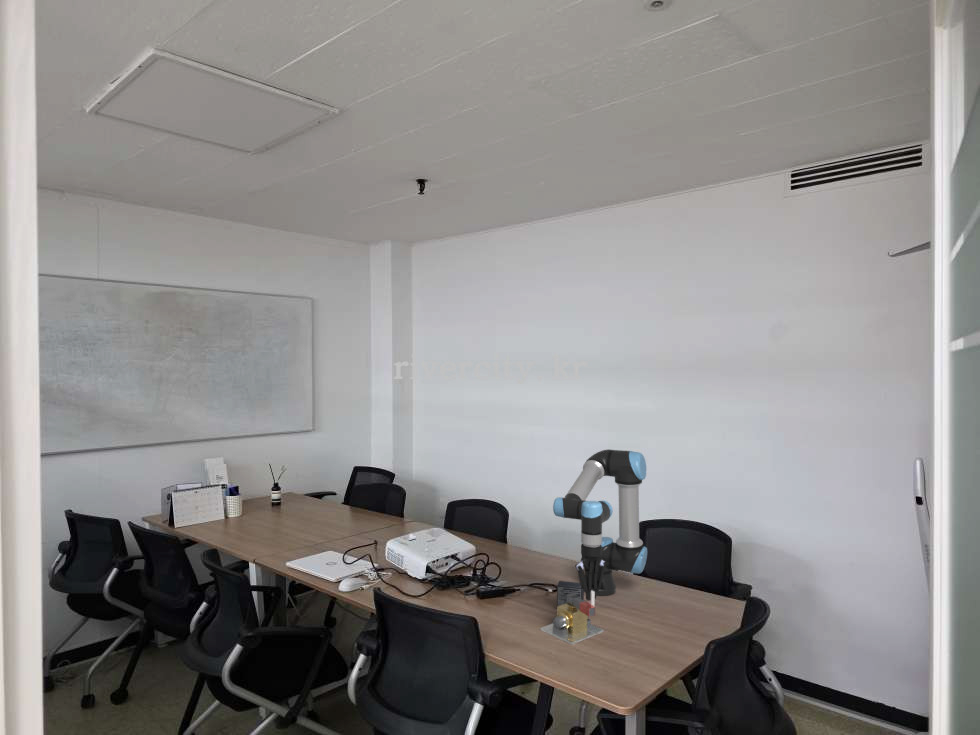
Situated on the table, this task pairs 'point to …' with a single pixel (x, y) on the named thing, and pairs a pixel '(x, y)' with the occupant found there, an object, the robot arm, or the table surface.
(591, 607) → the lever
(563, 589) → the small box
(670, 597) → the table surface
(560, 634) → the valve body
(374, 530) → the table surface
